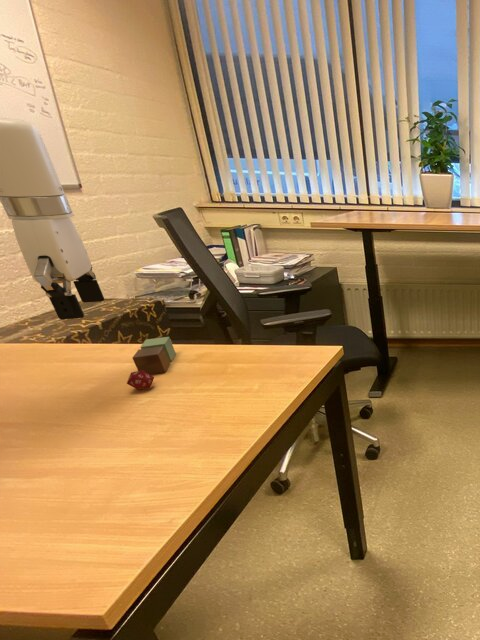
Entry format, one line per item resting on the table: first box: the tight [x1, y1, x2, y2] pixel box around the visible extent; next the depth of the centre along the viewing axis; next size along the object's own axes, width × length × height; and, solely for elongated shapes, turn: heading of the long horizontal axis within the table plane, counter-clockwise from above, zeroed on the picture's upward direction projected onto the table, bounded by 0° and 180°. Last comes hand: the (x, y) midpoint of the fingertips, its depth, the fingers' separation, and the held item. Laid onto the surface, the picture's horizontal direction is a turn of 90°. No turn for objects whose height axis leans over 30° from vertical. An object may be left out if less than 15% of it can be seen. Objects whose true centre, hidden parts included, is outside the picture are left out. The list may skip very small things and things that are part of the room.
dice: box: [126, 370, 155, 391], centre depth 84 cm, size 4×4×4 cm
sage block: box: [140, 336, 177, 363], centre depth 96 cm, size 4×4×4 cm
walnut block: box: [132, 346, 171, 376], centre depth 91 cm, size 4×4×4 cm
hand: (83, 309), depth 75 cm, fingers open, 9 cm apart
